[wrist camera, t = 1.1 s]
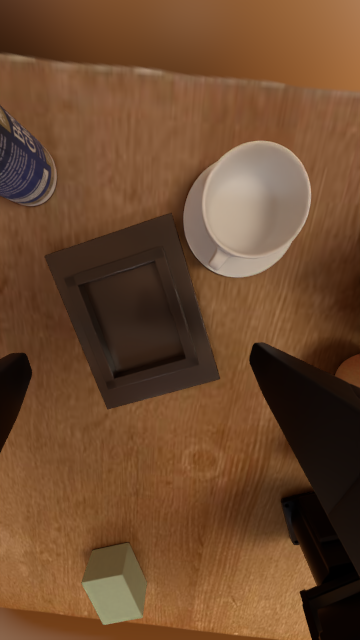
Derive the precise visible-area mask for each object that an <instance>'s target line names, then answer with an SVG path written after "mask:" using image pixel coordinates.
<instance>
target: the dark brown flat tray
mask: <svg viewBox="0 0 360 640" xmlns="http://www.w3.org/2000/svg"><path fill="white" fill-rule="evenodd" d="M45 258H46V261H47V263H48V266H49V268H50V271H51V273H52V276H53V278H54V280H55V283H56V285H57V288H58V290H59V293H60V295H61V297H62V300H63V302H64V305H65V307H66V310H67V312H68V315H69V317H70V319H71V322H72V324H73V327H74V329H75V332H76V334H77V336H78V339H79V341H80V344H81V346H82V349H83V351H84V354H85V356H86V358H87V361H88V363H89V366H90V368H91V371H92V373H93V375H94V378H95V380H96V383H97V385H98V388H99V390H100V393H101V395H102V397H103V400H104V402H105V405H106V407H107V409H111V408H115V407H118V406H122V405H126V404H130V403H133V402H137V401H141V400H144V399H148V398H152V397H156V396H159V395H163V394H167V393H170V392H174V391H178V390H182V389H185V388H189V387H193V386H196V385H200V384H204V383H207V382H211V381H215V380H219V379H220V377H219V373H218V370H217V367H216V363H215V360H214V356H213V353H212V350H211V346H210V343H209V339H208V336H207V332H206V329H205V326H204V322H203V319H202V315H201V312H200V309H199V305H198V302H197V298H196V295H195V291H194V288H193V285H192V281H191V278H190V274H189V271H188V267H187V264H186V261H185V257H184V254H183V250H182V247H181V244H180V240H179V237H178V233H177V230H176V226H175V223H174V220H173V216H172V213H169V214H166V215H163V216H160V217H157V218H154V219H151V220H148V221H146V222H143V223H140V224H137V225H134V226H131V227H128V228H125V229H122V230H119V231H116V232H113V233H110V234H107V235H104V236H101V237H98V238H95V239H93V240H90V241H87V242H84V243H81V244H78V245H75V246H72V247H69V248H66V249H63V250H60V251H57V252H54V253H51V254H48V255H45Z"/></svg>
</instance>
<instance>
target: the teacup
mask: <svg viewBox="0 0 360 640" xmlns="http://www.w3.org/2000/svg"><path fill="white" fill-rule="evenodd" d="M310 203H311V187H310V182H309V178H308V175H307V172H306V170H305V168H304V166H303V164H302V163H301V161H300V160H299V159H298V158H297V156H296V155H295V154H294V153H292V152H291V151H290V150H289V149H287V148H285V147H284V146H282V145H279V144H277V143H274V142H269V141H252V142H247V143H244V144H241V145H239V146H237V147H235V148H233V149H231V150H230V151H228V152H227V153H226V154H225V155H223V156H222V157H221V158H220V159H219V160H218V161H217V162H215V163H214V164H212V165H211V166H210V167H208V168H207V169H206V170H205V171H204V172H203V173H202V174H201V175H200V176H199V177H198V178H197V180H196V181H195V183H194V184H193V186H192V188H191V190H190V192H189V194H188V197H187V200H186V203H185V208H184V215H183V223H184V231H185V236H186V239H187V242H188V244H189V247H190V249H191V250H192V252H193V254H194V255H195V256H196V258H197V259H198V260H199V261H200V262H201V263H202V264H203V265H204V266H206V267H207V268H208V269H210V270H212V271H213V272H216V273H218V274H221V275H224V276H229V277H247V276H251V275H255V274H258V273H260V272H262V271H264V270H266V269H268V268H269V267H271V266H272V265H274V264H275V263H276V262H277V261H278V260H279V259H280V258H281V257H282V256H283V255H284V253H285V252H286V251H287V249H288V248H289V246H290V244H291V242H292V241H293V240H294V238H295V237H296V236H297V235H298V233H299V232H300V231H301V229H302V227H303V225H304V223H305V221H306V219H307V216H308V213H309V209H310Z"/></svg>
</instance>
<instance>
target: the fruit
mask: <svg viewBox="0 0 360 640" xmlns="http://www.w3.org/2000/svg"><path fill="white" fill-rule="evenodd" d="M335 376H336V377H338V378H340V379H342V380H344V381H346V382H348V383H349V384H353V385H355V386H357V387H359V388H360V354H358V355H355V356H352V357H350V358H348V359H347V360H345V361H344V362H343V363H342V364H341V365H340V366H339V368H338V370H337V372H336V374H335Z"/></svg>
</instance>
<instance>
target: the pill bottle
mask: <svg viewBox="0 0 360 640" xmlns="http://www.w3.org/2000/svg"><path fill="white" fill-rule="evenodd" d="M56 182H57V171H56V166H55V163H54V161H53V159H52V157H51V155H50V153H49V152H48V151H47V150H46V148H45V147H44V146H43V145H42V144H41V143H40V142H39V141H38V140H37V139H36V138H35V137H34V136H32V135H31V134H30V133H29V132H28V131H27V130H26V129H25V128H24V127H23V126H22V125H21V124H20V123H19V122H17V121H16V120H15V119H14V118H13V117H12V116H11V115H10V114H9V113H8V112H7V111H6V110H5V109H4V108H3V107H1V106H0V196H2V197H4V198H6V199H9V200H11V201H13V202H16V203H18V204H21V205H25V206H36V205H40V204H42V203H44V202H45V201H47V200H48V199H49V198H50V197H51V195H52V194H53V192H54V189H55V186H56Z"/></svg>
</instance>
